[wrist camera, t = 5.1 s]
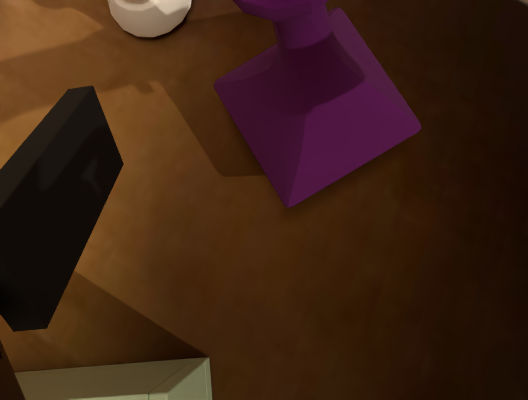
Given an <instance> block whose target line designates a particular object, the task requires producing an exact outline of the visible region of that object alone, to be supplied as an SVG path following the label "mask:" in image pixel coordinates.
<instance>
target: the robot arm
mask: <svg viewBox="0 0 528 400" xmlns="http://www.w3.org/2000/svg"><path fill="white" fill-rule="evenodd" d="M122 166H123V161H122V159H121V156H120V153H119V151H118V148H117V146H116V143H115V141H114V138H113V136H112V133H111V130H110V128H109V125H108V123H107V120H106V118H105V115H104V113H103V110H102V108H101V105H100V102H99V100H98V97H97V95H96V92H95V90H94V87H93V86H87V87H80V88H73V89H68V90H67V91H66V93H65V94H64V95H63V96H62V97H61V99H60V100H59V101H58V102H57V103H56V104H55V106H54V107H53V108H52V109H51V110H50V112H49V113H48V114H47V115H46V116H45V117H44V119H43V120H42V121H41V122H40V123H39V125H38V126H37V127H36V128H35V129H34V130H33V132H32V133H31V134H30V135H29V136H28V138H27V139H26V140H25V141H24V142H23V143H22V145H21V146H20V147H19V148H18V149H17V151H16V152H15V153H14V154H13V155H12V156H11V158H10V159H9V160H8V161H7V162H6V164H5V165H4V166H3V167H2V168H1V169H0V314H1V315H2V317H3V318H4V319H5V321H6V322H7V323H8V325H9V326H10V327H11V329H12V330H13V331H14V332H15V331H25V330H36V329H47V327H48V325H49V323H50V320H51V318H52V316H53V314H54V312H55V310H56V308H57V305H58V303H59V301H60V299H61V297H62V295H63V293H64V290H65V288H66V286H67V284H68V282H69V280H70V278H71V275H72V273H73V271H74V269H75V267H76V265H77V263H78V260H79V258H80V256H81V254H82V252H83V250H84V248H85V245H86V243H87V241H88V239H89V237H90V235H91V233H92V231H93V228H94V226H95V224H96V222H97V220H98V218H99V216H100V213H101V211H102V209H103V207H104V205H105V203H106V201H107V198H108V196H109V194H110V192H111V190H112V188H113V186H114V183H115V181H116V179H117V177H118V175H119V173H120V171H121V168H122ZM0 400H26V399H25V397H24V394H23V392H22V390H21V387H20V385H19V383H18V380H17V378H16V376H15V373H14V371H13V369H12V366H11V364H10V362H9V359H8V357H7V355H6V352H5V350H4V348H3V345H2V343H1V341H0Z"/></svg>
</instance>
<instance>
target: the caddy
mask: <svg viewBox="0 0 528 400" xmlns="http://www.w3.org/2000/svg"><path fill="white" fill-rule="evenodd" d="M14 373H15V376H16V378H17V380H18V383H19V385H20V387H21V390H22V392H23V394H24V397H25V399H26V400H212V389H211V375H210V362H209V357H204V358H191V359H178V360H166V361H153V362H140V363H128V364H115V365H102V366H90V367H77V368H64V369H52V370H39V371H26V372H14Z"/></svg>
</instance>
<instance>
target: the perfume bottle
mask: <svg viewBox="0 0 528 400" xmlns="http://www.w3.org/2000/svg"><path fill="white" fill-rule="evenodd" d="M233 1H234V2H235V3H236V4H237V6H238V7H239V8H240V9H241V10H242V11H243V12H244V13H246V14H250V15H254V16H258V17H261V18H265V19H269V20H272V21H273V25H274V29H275V33H276V37H277V41H278V43H276V44H275V45H273V46H272V47H270V48H268V49H267V50H265V51H263V52H262V53H260V54H258V55H257V56H255V57H254V58H252V59H250V60H249V61H247V62H245V63H244V64H242V65H240V66H239V67H237V68H236V69H234V70H232V71H231V72H229V73H227V74H226V75H224V76H222V77H221V78H219V79H217V80H216V82H215V83H214V89H215V90H216V92H217V94H218V95H219V97H220V99H221V100H222V102H223V104H224V105H225V107H226V109H227V110H228V112H229V114H230V115H231V117H232V119H233V120H234V122H235V124H236V125H237V127H238V129H239V130H240V132H241V134H242V135H243V137H244V139H245V140H246V142H247V144H248V145H249V147H250V149H251V151H252V152H253V154H254V156H255V157H256V159H257V161H258V162H259V164H260V166H261V167H262V169H263V171H264V172H265V174H266V176H267V177H268V179H269V181H270V182H271V184H272V186H273V187H274V189H275V191H276V192H277V194H278V196H279V197H280V199H281V201H282V202H283V204H284V205H285V206H286V207H287V208H289V207H293V206H295V205H296V204H298V203H300V202H301V201H303V200H305V199H306V198H308V197H310V196H311V195H313V194H315V193H316V192H318V191H320V190H321V189H323V188H325V187H326V186H328V185H330V184H332V183H333V182H335V181H337V180H338V179H340V178H342V177H343V176H345V175H347V174H348V173H350V172H352V171H353V170H355V169H357V168H358V167H360V166H362V165H363V164H365V163H367V162H368V161H370V160H372V159H373V158H375V157H377V156H378V155H380V154H382V153H384V152H385V151H387V150H389V149H390V148H392V147H394V146H395V145H397V144H399V143H400V142H402V141H404V140H405V139H407V138H409V137H410V136H412V135H414V134H415V133H417V132H419V130H420V129H421V125H420V122H419V121H418V119H417V118H416V116H415V115H414V113H413V112H412V110H411V109H410V107H409V106H408V105H407V103H406V102H405V100H404V99H403V97H402V96H401V94H400V93H399V91H398V90H397V89H396V87H395V86H394V84H393V83H392V81H391V80H390V78H389V77H388V75H387V74H386V73H385V71H384V70H383V68H382V67H381V65H380V64H379V62H378V61H377V59H376V58H375V56H374V55H373V54H372V52H371V51H370V49H369V48H368V46H367V45H366V43H365V42H364V40H363V39H362V38H361V36H360V35H359V33H358V32H357V30H356V29H355V27H354V26H353V24H352V23H351V22H350V20H349V19H348V17H347V16H346V14H345V13H344V11H343V10H342V9H341V8H339V7H338V8H334V9H332V10H330V11H329V12H327V9H326V6H325V3H326V2H327V1H328V0H233Z"/></svg>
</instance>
